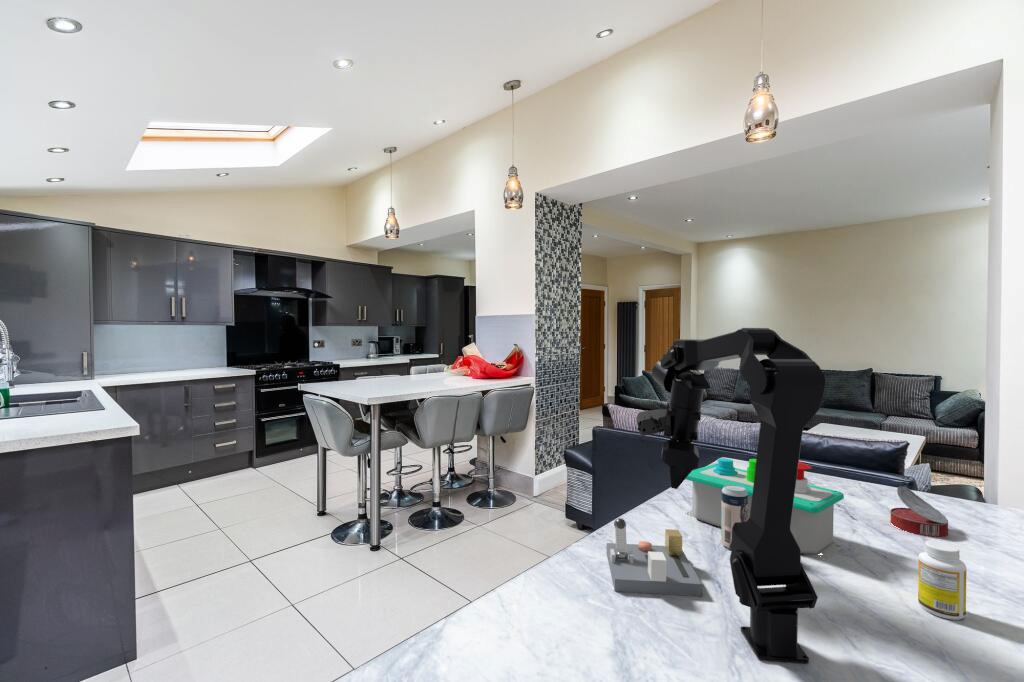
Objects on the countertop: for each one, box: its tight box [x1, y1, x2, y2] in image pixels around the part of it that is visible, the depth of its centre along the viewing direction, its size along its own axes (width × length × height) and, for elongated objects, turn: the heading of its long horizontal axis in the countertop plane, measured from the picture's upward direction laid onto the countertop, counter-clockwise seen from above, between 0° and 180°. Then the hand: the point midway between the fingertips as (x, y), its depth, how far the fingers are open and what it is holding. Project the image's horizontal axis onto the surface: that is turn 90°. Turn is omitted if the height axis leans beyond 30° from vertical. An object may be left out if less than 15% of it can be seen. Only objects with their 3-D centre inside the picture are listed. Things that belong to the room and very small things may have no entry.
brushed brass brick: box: [664, 529, 683, 556], centre depth 89 cm, size 3×2×4 cm
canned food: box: [890, 485, 949, 538], centre depth 107 cm, size 11×10×10 cm
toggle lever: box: [613, 517, 628, 560], centre depth 87 cm, size 2×2×7 cm
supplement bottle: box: [917, 540, 967, 621], centre depth 74 cm, size 6×6×10 cm
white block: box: [648, 551, 666, 582], centre depth 79 cm, size 3×2×4 cm
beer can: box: [720, 485, 748, 551], centre depth 96 cm, size 5×5×12 cm
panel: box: [606, 540, 703, 597], centre depth 85 cm, size 14×14×3 cm
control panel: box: [685, 457, 845, 561], centre depth 106 cm, size 15×17×30 cm
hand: (674, 475), depth 95 cm, fingers open, 9 cm apart
